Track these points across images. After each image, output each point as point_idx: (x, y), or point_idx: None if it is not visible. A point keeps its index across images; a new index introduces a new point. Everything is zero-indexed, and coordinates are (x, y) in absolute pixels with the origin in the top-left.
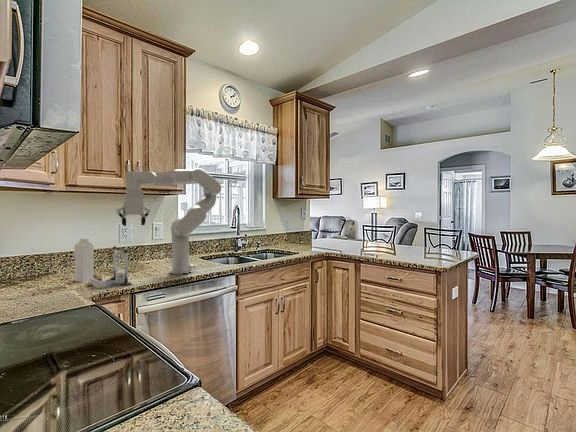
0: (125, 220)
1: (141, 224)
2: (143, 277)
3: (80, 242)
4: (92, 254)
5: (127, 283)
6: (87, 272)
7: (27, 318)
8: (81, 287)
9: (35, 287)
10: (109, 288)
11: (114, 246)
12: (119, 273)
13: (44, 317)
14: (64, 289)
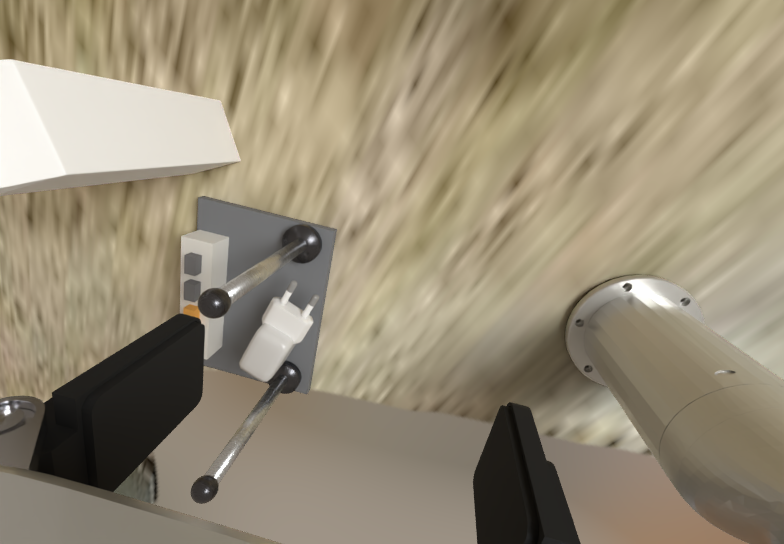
0: (124, 467)
1: (498, 416)
2: (434, 273)
3: None
4: (126, 171)
5: (281, 391)
6: (178, 172)
7: None
8: (172, 237)
9: None
10: (224, 370)
11: (202, 310)
12: (250, 373)
13: None
14: (119, 217)
